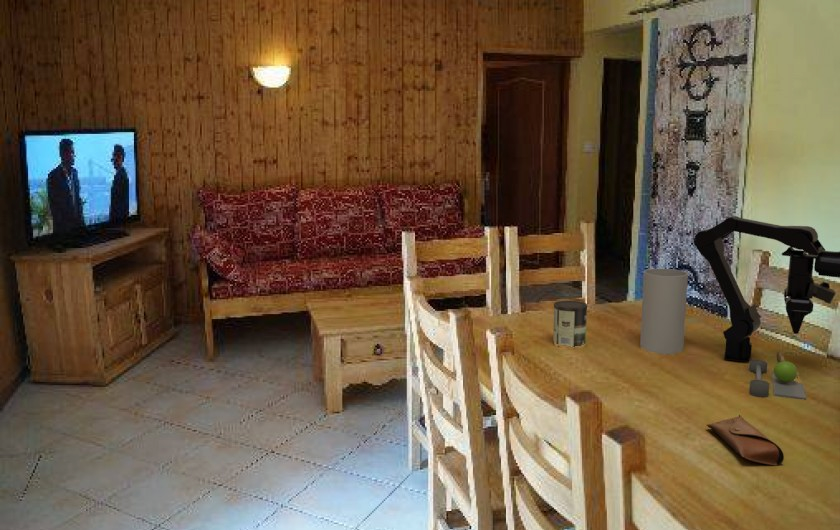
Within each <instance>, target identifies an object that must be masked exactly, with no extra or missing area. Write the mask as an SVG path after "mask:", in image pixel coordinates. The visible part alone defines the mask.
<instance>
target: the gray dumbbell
mask: <svg viewBox="0 0 840 530" xmlns="http://www.w3.org/2000/svg"><path fill="white" fill-rule="evenodd" d="M748 371H749V372H750V373H752V372H753V373H752V374H755V375H756V377H755V378H756V379H751V380H750V381H749V391H748V392H749V393H748V394H749V395H750V396H752V397H757V398H768V397H769V392H770V383H769V382H768V381H765V380H763V377H762V375H764V374H763V373H765V374H767V373H768V362H767V361H765V360H761V359H751V360H750V359H749V368H748ZM766 372H767V373H766Z"/></svg>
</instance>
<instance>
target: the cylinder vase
mask: <svg viewBox="0 0 840 530" xmlns="http://www.w3.org/2000/svg"><path fill="white" fill-rule="evenodd" d="M688 277H689V273H688V272H687V271H683V270H679V269H671V268H649V269H645V270H644V271H643V280H642V283H643V285H642V299H641V300H642V301H641V303H642V304H641V319H640V320H641V323H640V324H641V325H640V338H639V339H640V341H639V347H640V346H641V347H642V348H643V349H645V350H647V351H650V352H655V353H660V354H659V355H665V354H670V355H676V354H675V353H678V352H681V351H682V350H683V351H684V346H685V345H684V341H685V330H686V329H685V327H686V310H687V297H688V296H687V294H688V293H687V292H688ZM647 351H646V352H647ZM683 351H682V352H683ZM650 352H649V353H650ZM682 352H681V353H682ZM655 353H654V354H655ZM678 354H679V353H678Z"/></svg>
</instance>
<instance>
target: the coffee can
mask: <svg viewBox="0 0 840 530" xmlns="http://www.w3.org/2000/svg"><path fill="white" fill-rule="evenodd" d="M587 312H588V303H586V302H583V301H579V300H560V301H555V302H554V303H553V340H552V342H553V341H554V342H555V343H556V344H559V345H564V346H571V347H572V346H573V347H575V346H581V345H584V344H585V343H586V344H587V318H588V313H587Z"/></svg>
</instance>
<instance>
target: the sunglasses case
mask: <svg viewBox="0 0 840 530" xmlns="http://www.w3.org/2000/svg"><path fill="white" fill-rule="evenodd" d="M706 427H707V428H709V429H711V430H712V431H713V432H714V433H715V434H716V435H717V436H718V437H720V439H722V440H723V441H724V442H725V443H726V444H727V445H728V447H730V448H731V449H732V450H733V451H734V452H735V453H737V454H738V455H739V456H741V458H744V459H745V460H748V461H751V462H755V463H757V464H763V465H770V466H776V467H777V466H779V465H781V464H782V463H783V462H784V459H785V455H784V452H783V450H782V448H781V447H780V446H779V445H778V444H777V443H776V442H774V441H773V440H771V439H769V438H768V437H767V436H766V435H765V434H763V432H761V431H760V430H759V429H758V428H756V427H755V426H754V425H752V424H751V423H750V422H749V421H747V420H746V419H745V418H744V417H742V415H741V414H738V416H735V417H732V418H727V419H723V420H719V421H716V422H713V423H706Z"/></svg>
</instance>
